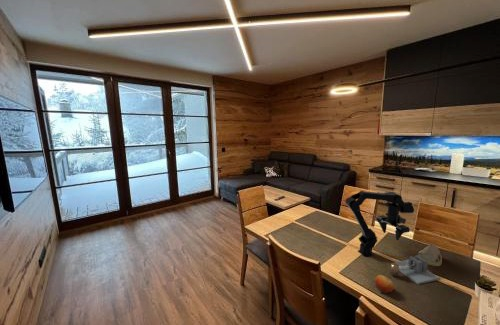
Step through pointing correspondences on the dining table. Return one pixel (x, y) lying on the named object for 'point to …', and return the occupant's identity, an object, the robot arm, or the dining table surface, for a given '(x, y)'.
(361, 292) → the dining table surface
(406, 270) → the barrel bolt latch
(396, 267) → the metal knob rod
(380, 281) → the fruit
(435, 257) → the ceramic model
